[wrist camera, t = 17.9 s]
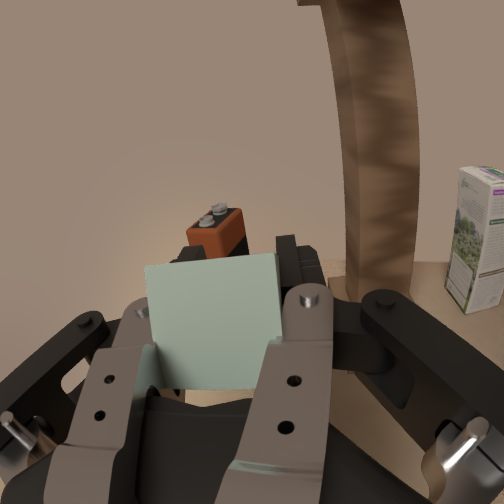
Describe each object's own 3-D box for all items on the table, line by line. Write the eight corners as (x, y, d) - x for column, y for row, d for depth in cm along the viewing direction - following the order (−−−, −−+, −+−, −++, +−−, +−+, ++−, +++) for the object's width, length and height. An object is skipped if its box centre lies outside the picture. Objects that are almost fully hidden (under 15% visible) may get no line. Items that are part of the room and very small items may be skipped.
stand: (392, 283, 32) (376, -5, 18) (430, 356, 22) (432, -51, 7) (327, 292, 33) (295, -7, 19) (347, 373, 23) (311, -70, 8)
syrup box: (499, 306, 24) (528, 181, 17) (463, 316, 25) (491, 181, 18) (476, 279, 29) (495, 165, 22) (441, 286, 30) (457, 165, 23)
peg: (287, 293, 28) (284, 261, 28) (286, 386, 6) (274, 252, 6) (256, 296, 28) (253, 265, 28) (161, 388, 6) (144, 265, 7)
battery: (253, 271, 40) (241, 200, 36) (234, 301, 35) (216, 222, 30) (224, 269, 42) (210, 201, 37) (202, 297, 36) (181, 223, 32)
